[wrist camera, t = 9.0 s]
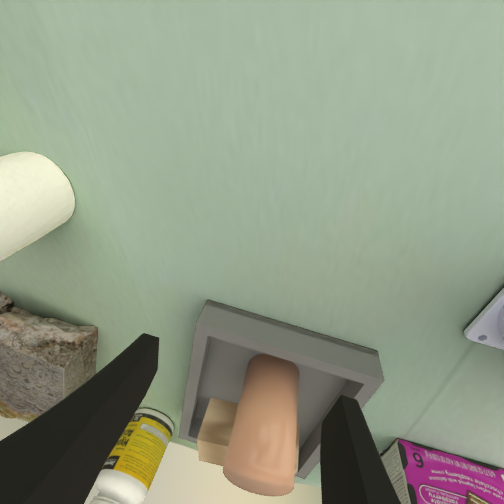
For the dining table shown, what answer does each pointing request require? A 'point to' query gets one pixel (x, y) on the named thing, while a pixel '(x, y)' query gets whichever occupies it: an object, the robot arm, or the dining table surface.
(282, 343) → the tray
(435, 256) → the dining table surface
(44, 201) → the white sack
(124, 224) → the dining table surface
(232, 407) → the beech block
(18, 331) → the geological specimen
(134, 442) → the supplement bottle
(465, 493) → the candy bar box
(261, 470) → the flesh-toned capsule
